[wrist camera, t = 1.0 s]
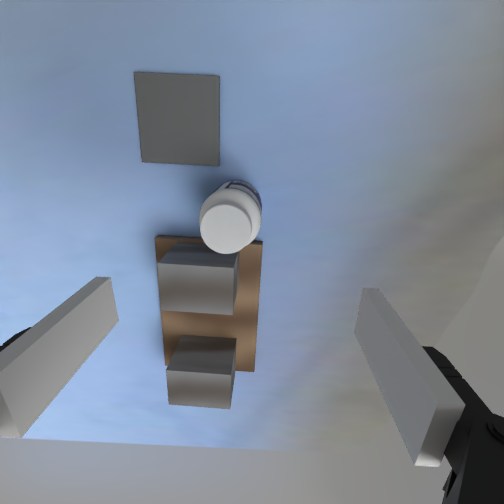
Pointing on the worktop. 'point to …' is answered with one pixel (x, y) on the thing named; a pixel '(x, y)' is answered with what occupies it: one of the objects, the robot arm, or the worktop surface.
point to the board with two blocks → (207, 317)
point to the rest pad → (178, 118)
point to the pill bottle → (230, 217)
